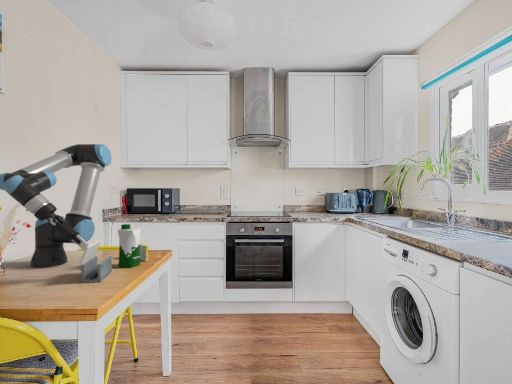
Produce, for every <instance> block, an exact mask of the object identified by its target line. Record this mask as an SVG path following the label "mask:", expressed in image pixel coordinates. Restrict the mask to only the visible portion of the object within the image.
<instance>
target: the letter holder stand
mask: <svg viewBox="0 0 512 384" xmlns="http://www.w3.org/2000/svg"><path fill="white" fill-rule="evenodd" d="M112 261H113V256H112V255H108V257H106V258H105V259H103V260H102V261H100V262H99V263H98V256H94V257H92V258H91V259H89V260H87V261H86V262H84V263H83V264H80V265H81V266H80V267H81V269H80V270H81V273H80V274H81V277H80V279H81V284H84V283H85V284H86V283H87V284H88V283H101V282H102V281H103V280H104V279H105V278H106V277H108V276H109V275H110V274H111V273H112V269H113V267H112V266H113V262H112Z"/></svg>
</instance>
